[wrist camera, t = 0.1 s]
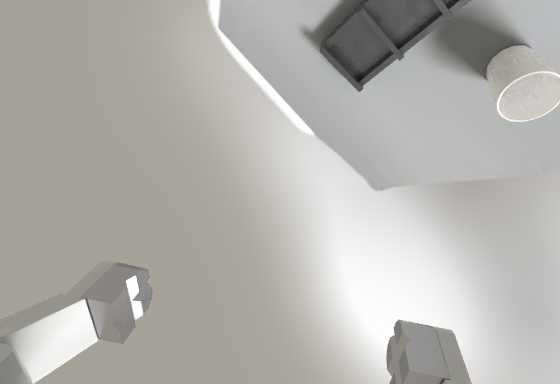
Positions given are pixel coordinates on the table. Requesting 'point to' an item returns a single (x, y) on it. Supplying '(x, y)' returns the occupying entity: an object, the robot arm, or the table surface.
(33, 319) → the robot arm
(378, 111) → the table surface
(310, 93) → the table surface
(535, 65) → the white cup
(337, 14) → the table surface
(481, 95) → the table surface
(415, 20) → the rack
